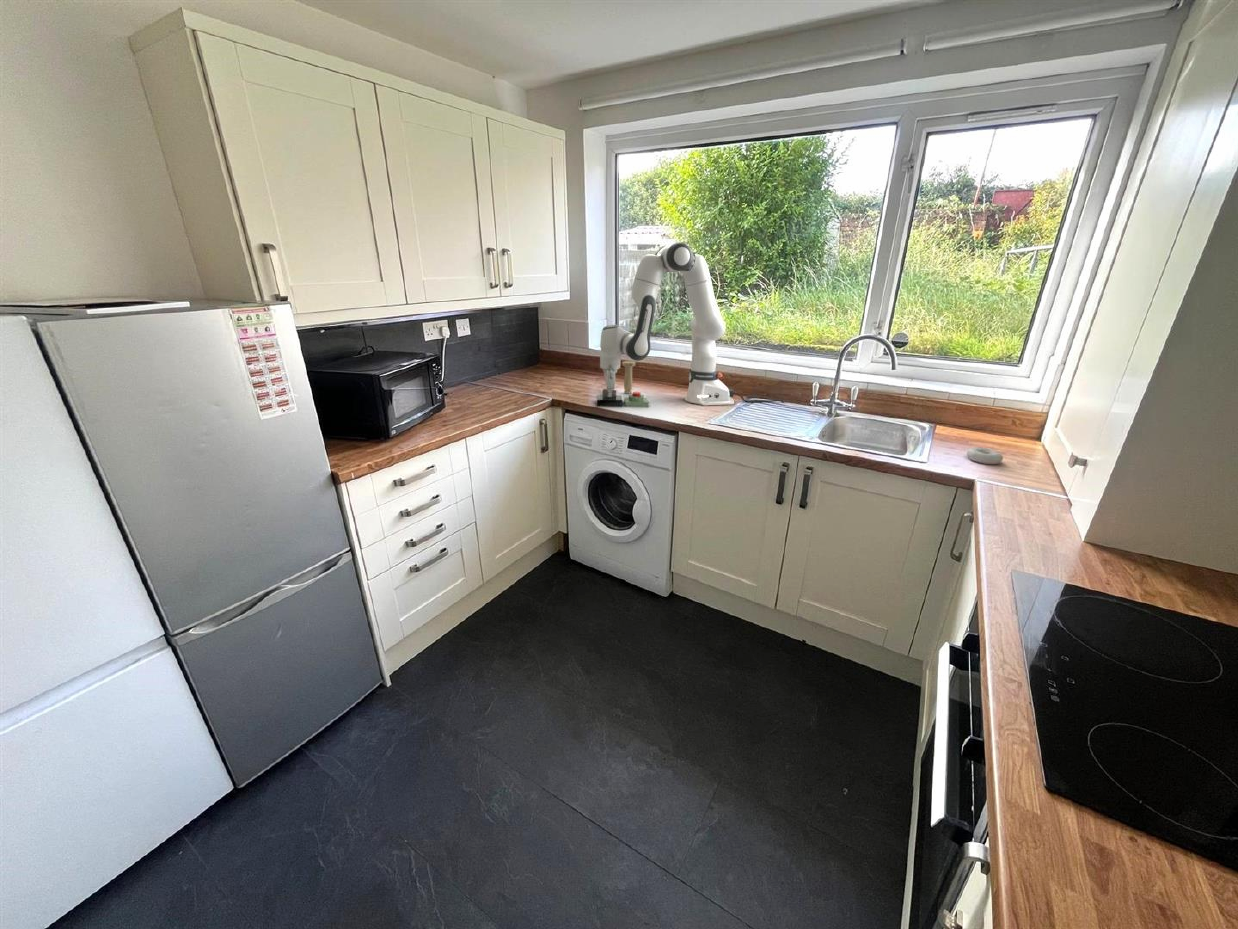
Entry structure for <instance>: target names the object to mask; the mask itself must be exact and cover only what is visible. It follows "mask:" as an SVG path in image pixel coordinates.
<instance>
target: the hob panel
mask: <svg viewBox="0 0 1238 929" xmlns="http://www.w3.org/2000/svg"><path fill="white" fill-rule="evenodd" d="M602 396H603V394H596V407H612V408H614V407H615V408H622V407H623V398H622V395H621V394H616V398H603V397H602Z"/></svg>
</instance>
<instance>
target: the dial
mask: <svg viewBox="0 0 1238 929" xmlns="http://www.w3.org/2000/svg"><path fill="white" fill-rule="evenodd" d="M602 395H603V396H602V397H603V398H616V395H617V389H616V388H615V389H614V390H612V396H611V397H608V390H607V388H602Z"/></svg>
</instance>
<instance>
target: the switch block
mask: <svg viewBox="0 0 1238 929" xmlns="http://www.w3.org/2000/svg"><path fill="white" fill-rule="evenodd" d="M623 402H624V407H630V408H631V407H633V408H635V407H636V408H649V400H648V398H647V397H645V396H644V394H641V396H640V397H633V396H632V393H631V394H628V397H627V396H625V397H624V398H623Z"/></svg>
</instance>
